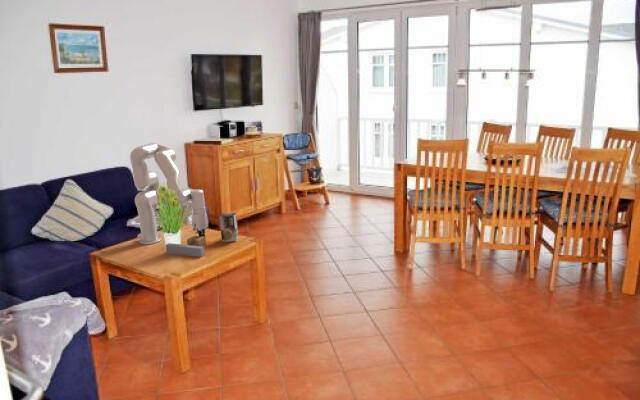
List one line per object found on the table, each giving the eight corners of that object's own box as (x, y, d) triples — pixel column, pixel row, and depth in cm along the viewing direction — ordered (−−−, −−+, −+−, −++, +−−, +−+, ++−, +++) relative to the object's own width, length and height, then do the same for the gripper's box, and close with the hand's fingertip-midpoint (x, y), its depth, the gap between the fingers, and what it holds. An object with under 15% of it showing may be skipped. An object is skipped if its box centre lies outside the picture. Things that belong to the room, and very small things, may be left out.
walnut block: (187, 249, 315) (186, 239, 313) (195, 245, 321) (193, 235, 320) (199, 250, 312) (198, 240, 310) (206, 246, 318) (205, 236, 316)
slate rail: (166, 253, 310) (165, 244, 308) (169, 251, 312) (168, 243, 311) (201, 257, 300) (200, 248, 299) (204, 255, 303) (203, 246, 302)
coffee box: (238, 238, 330) (236, 212, 326) (236, 241, 323) (233, 215, 319) (224, 238, 331) (221, 213, 327) (221, 241, 324) (218, 216, 320)
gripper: (201, 206, 324) (204, 235, 329) (186, 213, 311) (189, 243, 316) (211, 207, 322) (214, 236, 326) (197, 214, 308) (200, 244, 313)
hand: (202, 240), depth 321 cm, fingers closed
